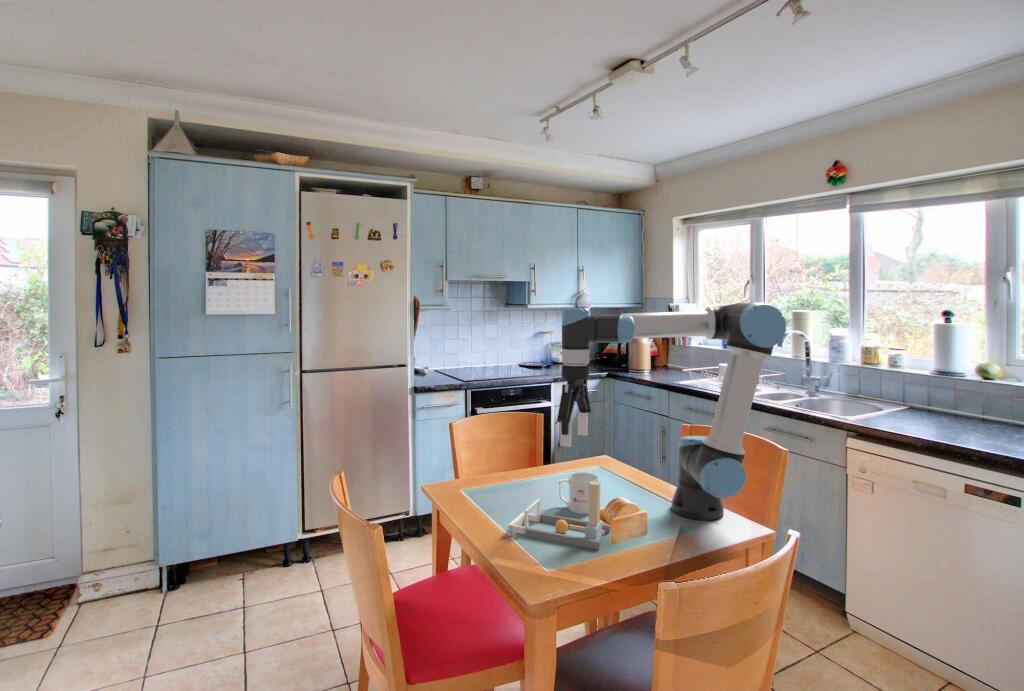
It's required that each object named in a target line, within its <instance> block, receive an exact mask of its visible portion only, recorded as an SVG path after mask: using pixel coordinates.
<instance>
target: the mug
mask: <svg viewBox="0 0 1024 691" xmlns="http://www.w3.org/2000/svg"><path fill="white" fill-rule="evenodd" d="M591 481H594V482H600V478H599V476H598V475H596V474H594V473H591V472H575V473H572V474H570V475H569V476H568V478H563V479H562V478H561V479H559V480H558V492H559V495H558V496H559V499H560V500H561V501H562V502H563V503H565V504H566V506H568V510H569V511H570V512H572V513H575V514H578V515H589V483H590V482H591ZM562 482H566V483H567V484H568V500H567V499H565V497H563V493H562Z"/></svg>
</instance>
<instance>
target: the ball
mask: <svg viewBox="0 0 1024 691" xmlns="http://www.w3.org/2000/svg"><path fill="white" fill-rule="evenodd" d="M554 529H555V531H556V533H559V534H564V533H566V532H567V531H568V530H569V526H568V524H567V522H566V521H565V520H558V521H557V522H556V523H555V524H554Z"/></svg>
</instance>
